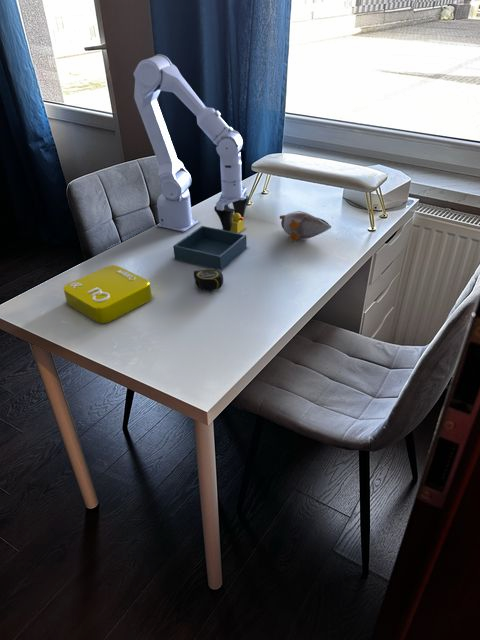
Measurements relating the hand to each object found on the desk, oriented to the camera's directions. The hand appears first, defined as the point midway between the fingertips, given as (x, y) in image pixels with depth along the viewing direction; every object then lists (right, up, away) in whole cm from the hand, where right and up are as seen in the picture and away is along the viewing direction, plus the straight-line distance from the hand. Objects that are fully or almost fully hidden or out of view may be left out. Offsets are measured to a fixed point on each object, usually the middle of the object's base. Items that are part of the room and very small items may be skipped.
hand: (233, 225), depth 147 cm
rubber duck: (0, -1, +1) cm, 1 cm away
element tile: (-27, -25, -30) cm, 48 cm away
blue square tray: (-5, -10, -11) cm, 16 cm away
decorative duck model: (+21, -3, -2) cm, 21 cm away
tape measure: (-5, -21, -24) cm, 33 cm away
